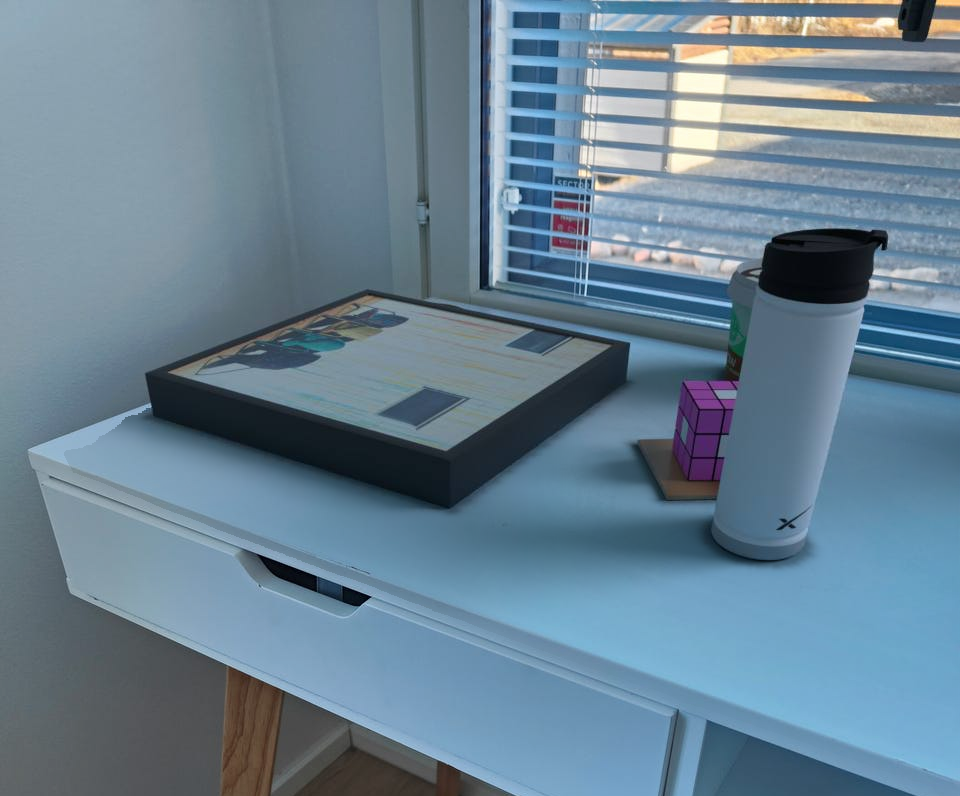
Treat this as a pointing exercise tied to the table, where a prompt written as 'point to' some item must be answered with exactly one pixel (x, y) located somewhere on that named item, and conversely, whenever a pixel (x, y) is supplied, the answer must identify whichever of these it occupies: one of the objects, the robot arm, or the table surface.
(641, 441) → the cork coaster
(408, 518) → the table surface
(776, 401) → the travel mug
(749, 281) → the food container
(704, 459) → the puzzle toy
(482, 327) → the framed picture
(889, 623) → the table surface
